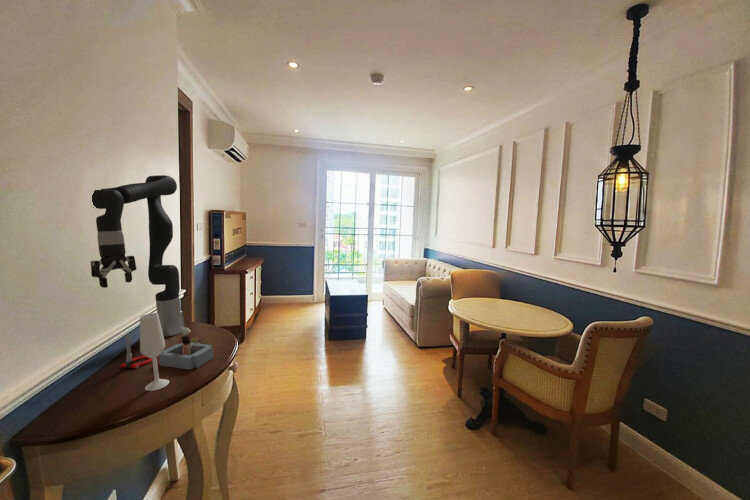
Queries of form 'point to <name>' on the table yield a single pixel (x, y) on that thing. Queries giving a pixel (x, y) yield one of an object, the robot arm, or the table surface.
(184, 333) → the grandmother figurine
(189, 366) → the well block
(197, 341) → the mineral rock
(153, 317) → the champagne flute
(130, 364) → the tow hook
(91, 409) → the table surface
